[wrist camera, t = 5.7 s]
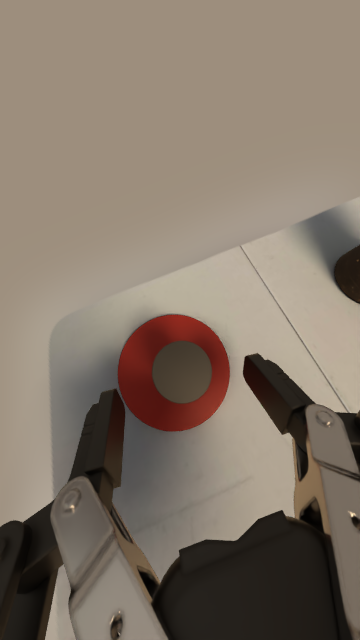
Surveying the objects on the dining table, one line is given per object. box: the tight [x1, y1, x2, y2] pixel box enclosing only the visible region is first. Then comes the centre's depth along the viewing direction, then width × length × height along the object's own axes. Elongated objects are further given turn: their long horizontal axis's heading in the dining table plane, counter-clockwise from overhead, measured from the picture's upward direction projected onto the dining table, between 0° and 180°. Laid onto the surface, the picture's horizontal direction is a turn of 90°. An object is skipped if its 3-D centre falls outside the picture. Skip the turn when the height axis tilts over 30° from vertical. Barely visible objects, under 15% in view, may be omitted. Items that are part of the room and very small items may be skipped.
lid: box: [118, 315, 230, 431], centre depth 13 cm, size 11×11×9 cm
